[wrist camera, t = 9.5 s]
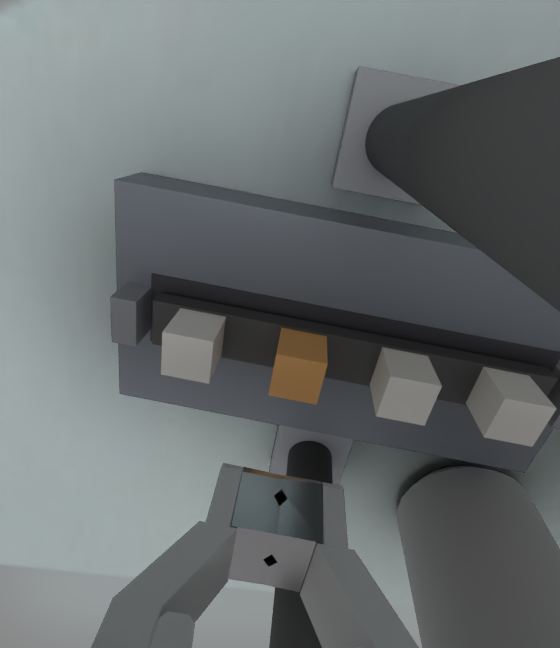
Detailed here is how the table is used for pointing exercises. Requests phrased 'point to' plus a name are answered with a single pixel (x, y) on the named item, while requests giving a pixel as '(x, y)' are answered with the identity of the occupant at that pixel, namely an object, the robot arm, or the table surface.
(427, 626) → the can
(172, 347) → the breaker paddles
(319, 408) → the breaker panel
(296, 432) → the post
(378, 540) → the table surface
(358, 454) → the table surface
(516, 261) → the disc
